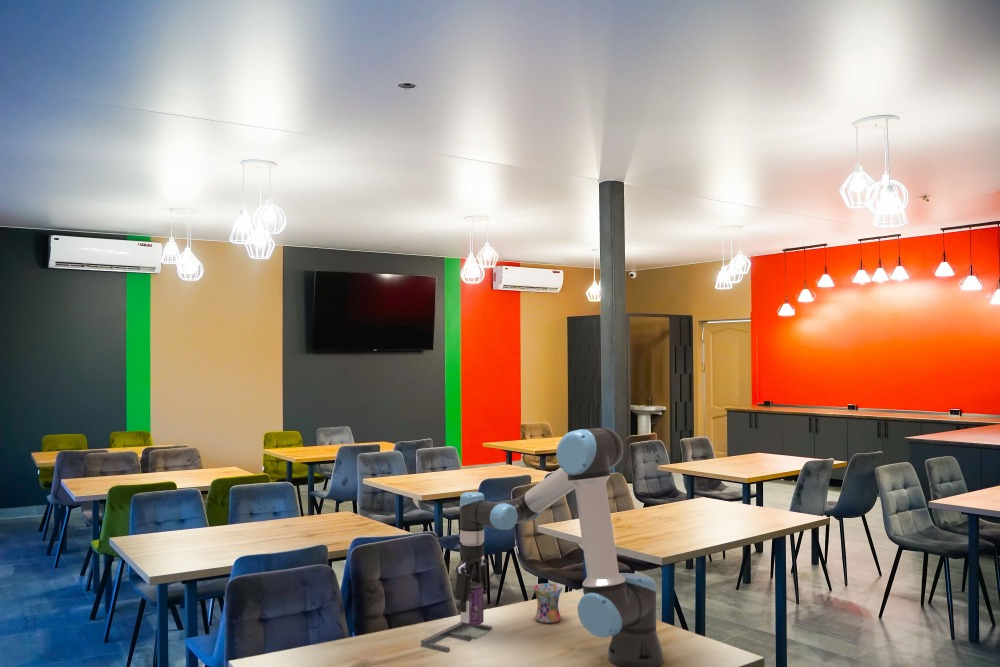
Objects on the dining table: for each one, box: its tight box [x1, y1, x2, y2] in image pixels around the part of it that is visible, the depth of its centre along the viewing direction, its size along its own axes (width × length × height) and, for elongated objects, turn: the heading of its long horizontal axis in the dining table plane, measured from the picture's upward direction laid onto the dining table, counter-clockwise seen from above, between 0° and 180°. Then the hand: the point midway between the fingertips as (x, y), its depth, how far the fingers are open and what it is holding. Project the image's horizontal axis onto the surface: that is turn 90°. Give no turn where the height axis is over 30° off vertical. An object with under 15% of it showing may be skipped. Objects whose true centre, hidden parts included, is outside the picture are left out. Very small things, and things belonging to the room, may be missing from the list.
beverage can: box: [460, 581, 485, 627], centre depth 235 cm, size 7×7×12 cm
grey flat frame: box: [420, 621, 493, 653], centre depth 231 cm, size 10×23×2 cm, turn 147°
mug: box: [533, 582, 563, 624], centre depth 248 cm, size 12×9×11 cm
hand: (471, 618), depth 235 cm, fingers closed on beverage can, 7 cm apart
